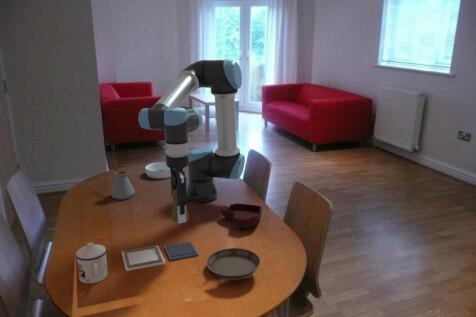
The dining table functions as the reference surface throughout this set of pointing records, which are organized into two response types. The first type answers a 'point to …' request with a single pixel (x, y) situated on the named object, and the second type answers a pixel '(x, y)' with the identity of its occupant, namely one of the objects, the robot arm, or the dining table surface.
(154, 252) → the board
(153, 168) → the cereal bowl
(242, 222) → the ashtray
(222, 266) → the plant saucer
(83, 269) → the teacup with lid
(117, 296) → the dining table surface
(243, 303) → the dining table surface
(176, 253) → the ink pad
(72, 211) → the dining table surface
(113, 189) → the coffee pot
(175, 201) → the olive knob handle
